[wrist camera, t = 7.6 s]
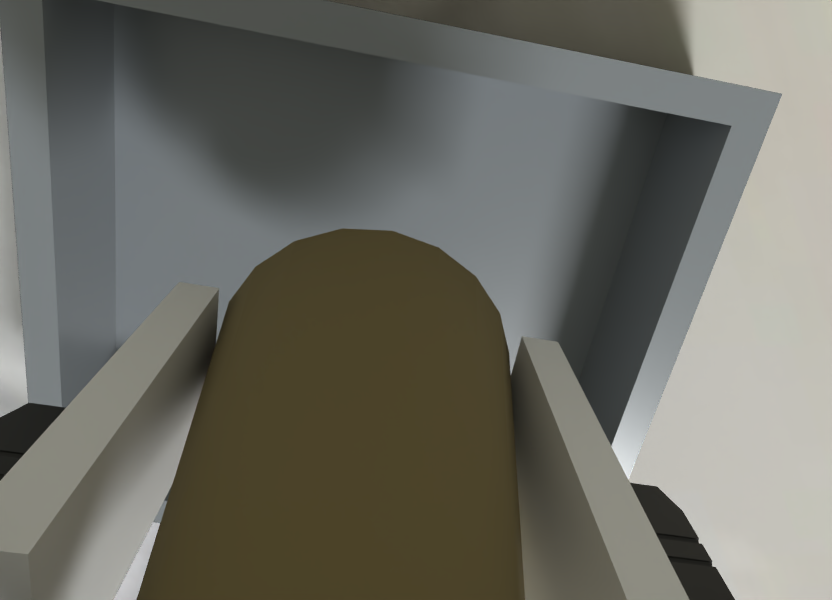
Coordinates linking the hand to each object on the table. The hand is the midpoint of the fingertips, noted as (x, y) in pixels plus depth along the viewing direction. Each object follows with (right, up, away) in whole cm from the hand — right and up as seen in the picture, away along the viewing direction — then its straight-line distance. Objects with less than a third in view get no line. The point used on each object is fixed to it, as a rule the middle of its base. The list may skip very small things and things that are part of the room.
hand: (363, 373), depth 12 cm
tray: (0, +2, +6) cm, 6 cm away
